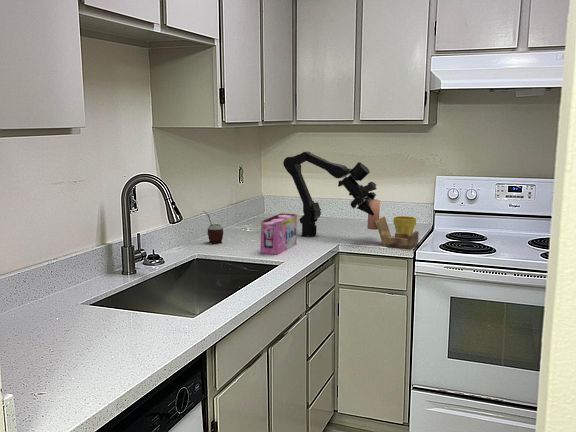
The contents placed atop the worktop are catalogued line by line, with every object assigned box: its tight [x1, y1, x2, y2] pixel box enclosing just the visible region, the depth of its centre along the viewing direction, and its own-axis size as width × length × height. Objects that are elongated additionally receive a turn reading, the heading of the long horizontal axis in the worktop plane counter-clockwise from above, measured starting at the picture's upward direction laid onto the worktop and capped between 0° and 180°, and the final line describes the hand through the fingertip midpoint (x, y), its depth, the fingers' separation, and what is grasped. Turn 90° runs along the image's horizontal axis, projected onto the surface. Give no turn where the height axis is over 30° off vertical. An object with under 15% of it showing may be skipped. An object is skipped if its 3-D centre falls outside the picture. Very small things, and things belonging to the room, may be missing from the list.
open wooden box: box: [386, 230, 420, 251], centre depth 247 cm, size 10×12×6 cm
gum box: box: [259, 212, 298, 255], centre depth 239 cm, size 24×8×14 cm, turn 159°
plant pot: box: [393, 215, 417, 234], centre depth 264 cm, size 10×10×10 cm
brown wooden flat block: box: [375, 216, 392, 247], centre depth 251 cm, size 4×10×12 cm, turn 152°
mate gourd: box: [202, 210, 224, 245], centre depth 249 cm, size 8×8×15 cm
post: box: [366, 198, 381, 231], centre depth 252 cm, size 5×5×13 cm
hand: (375, 214), depth 252 cm, fingers closed on post, 5 cm apart
